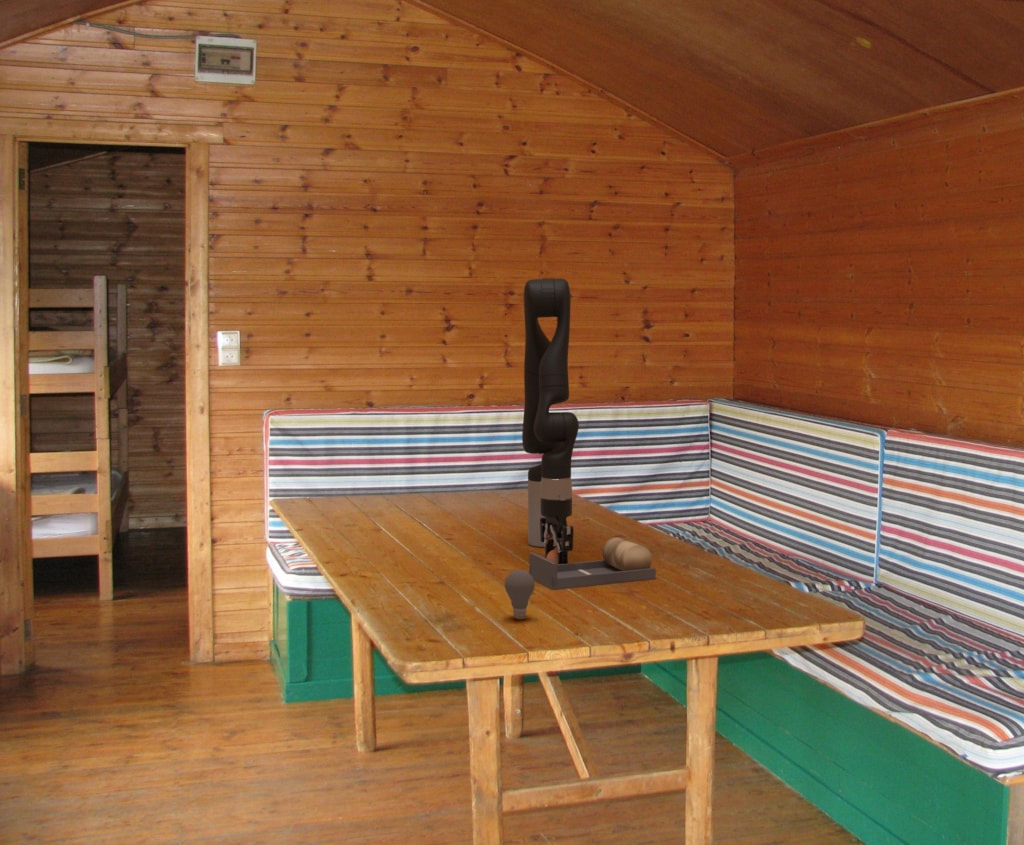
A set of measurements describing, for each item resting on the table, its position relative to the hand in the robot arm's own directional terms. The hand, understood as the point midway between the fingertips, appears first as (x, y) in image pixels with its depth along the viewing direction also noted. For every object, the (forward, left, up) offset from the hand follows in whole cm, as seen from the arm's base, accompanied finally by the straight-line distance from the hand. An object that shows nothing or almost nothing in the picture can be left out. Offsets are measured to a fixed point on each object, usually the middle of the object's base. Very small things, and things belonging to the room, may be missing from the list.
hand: (556, 564), depth 280 cm
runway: (+12, +4, -1) cm, 12 cm away
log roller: (+12, +13, -1) cm, 17 cm away
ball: (0, 0, -1) cm, 1 cm away
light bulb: (+38, -26, -1) cm, 46 cm away
